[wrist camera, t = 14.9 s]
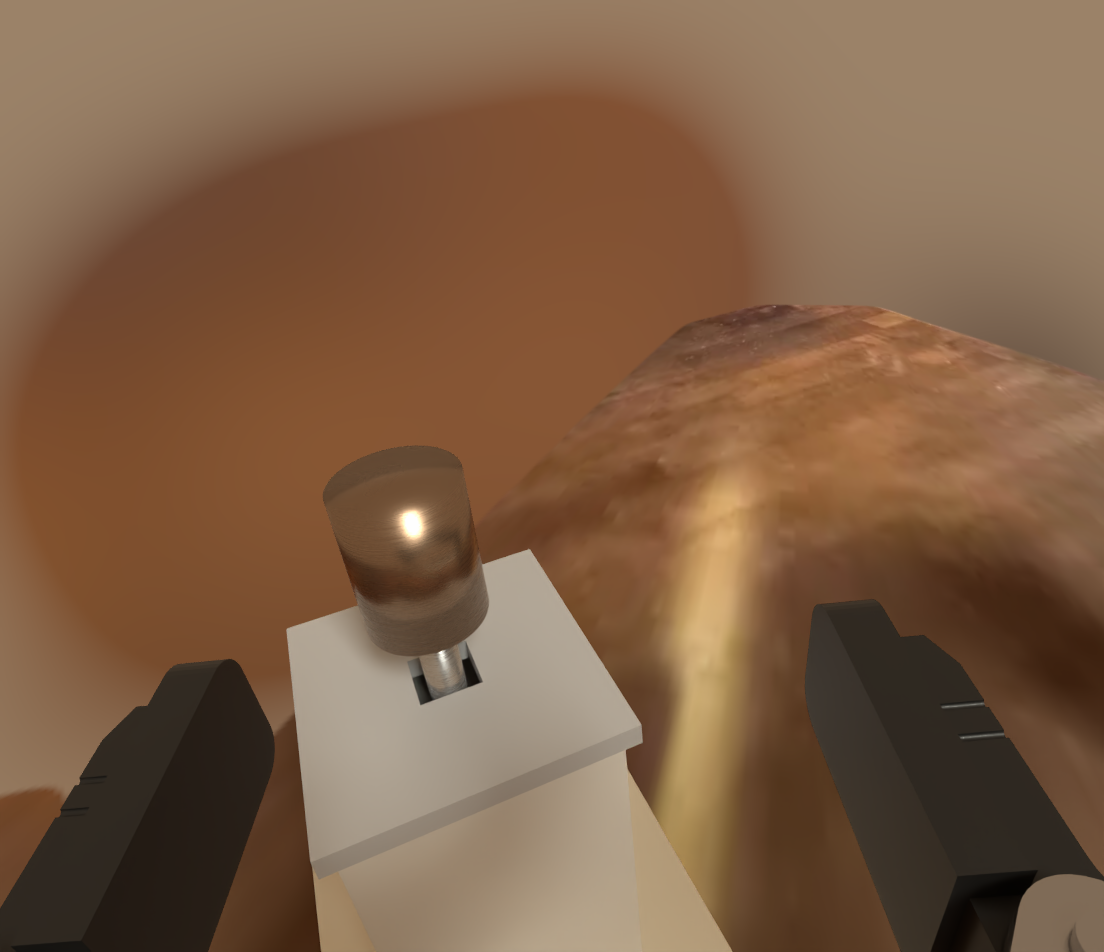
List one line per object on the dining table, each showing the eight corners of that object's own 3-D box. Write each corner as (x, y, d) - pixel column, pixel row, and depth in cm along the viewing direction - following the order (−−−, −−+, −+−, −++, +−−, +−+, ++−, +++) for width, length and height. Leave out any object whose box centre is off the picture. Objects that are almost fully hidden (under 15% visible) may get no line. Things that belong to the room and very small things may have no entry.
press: (597, 726, 51) (571, 489, 40) (770, 1031, 34) (803, 768, 24) (314, 842, 45) (198, 604, 35) (360, 1267, 29) (169, 1063, 19)
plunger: (543, 766, 42) (478, 401, 29) (608, 908, 34) (559, 505, 22) (396, 827, 39) (257, 459, 27) (433, 994, 32) (267, 597, 20)
